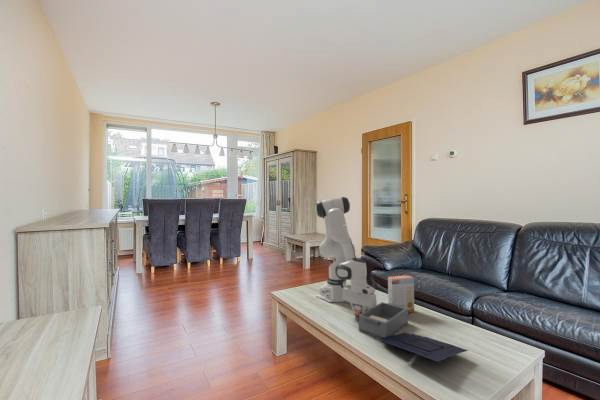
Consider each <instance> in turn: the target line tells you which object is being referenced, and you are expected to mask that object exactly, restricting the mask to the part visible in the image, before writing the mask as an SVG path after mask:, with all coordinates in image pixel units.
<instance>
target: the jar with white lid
mask: <svg viewBox="0 0 600 400" xmlns="http://www.w3.org/2000/svg"><path fill="white" fill-rule="evenodd" d="M354 306H355V311H354V320H355V321H357V322H359V315H360V314H362V310H364V309H365V308H364V306H362V305H359V304H355V303H354Z"/></svg>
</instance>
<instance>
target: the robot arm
mask: <svg viewBox="0 0 600 400" xmlns="http://www.w3.org/2000/svg"><path fill="white" fill-rule="evenodd" d="M350 208H351V202H350V200H349V198H348V197H345V196H341V197H331V198H327V199H324V200H318V201H317V202H316V203H315V206H314V212H315V214H316V215H317V217H319V218H322V219H323V220H324V227H325V237H324V240H322V242H320V243H319V247H318V249H319V253H320V254H321V255H323V256H326V257H328V258H329V257H330V258H331V257H332V258H335V259H336V260H335V261H334V262H332V263H330V265H329V267H328V277H327V278H325V280H326V283H324V284H322V285H321V286H320V287H319V292H318V293H316V294H315V297H316V298H318V299H321V300H323V301H325V302H328V303H344V302H347V303H350V306H351V308H352V310H351V311H354V312H355V304H359V305H362V306H364V310H362V313H364V312H365V311H367V310H368V308H369V309H371V308H374V307H376V305H378V304H377V301H378V300H377V295H376V288H375V287H373V286H371V285H369V284H368V282H367V281H368V280H367V277H368V276H367V275H368V274H367V273H368V272H367V263H366V260H364V259H363V258H360V257H357V255H356V246H355V245H354V244H353V241H352V239H351V237H350V234H349V230H348V226H347V221H346V217H345V214H347V213H349V212H350ZM349 280H350V284H347V281H349Z"/></svg>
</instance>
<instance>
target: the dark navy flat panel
mask: <svg viewBox="0 0 600 400" xmlns="http://www.w3.org/2000/svg"><path fill="white" fill-rule="evenodd" d="M378 340H380V341H381V342H383V343H386V344H388V345H390V346H393V347H396V348H399V349H402V350H405V351H406V352H407V351H408V352H409V353H410V352H411V353H414V354H417V355H419V356H421V357H424V358H426V359H429V360H431V361H434V362H440V361H443V360H444V359H447V358H449V357H452V356H455V355H459V354H461V353H465V352H469V350H468V349H465V348H462V347H461V346H460V347H459V346H456V345H453V344H451V343H447V342H444V341H441V340H437V339H433V338H430V337H427V336H421V335H417V334H414V333H409V332H408V333H407V332H402V333H397V334H394V335H392V336H388V337H384V338H378Z"/></svg>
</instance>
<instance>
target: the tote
mask: <svg viewBox="0 0 600 400" xmlns="http://www.w3.org/2000/svg"><path fill="white" fill-rule="evenodd" d="M371 315H373V316H377V317H380V318H384V319H387V320H388V321H386V322H383V321H379V320H376V319H373V318H369V317H370V316H371ZM408 316H409V315H408V311H407V308H403V307H402V306H398V305H394V304H390V303H389V302H388V303H386V302H380V303H378V304H377V305H376V307H374V308H369V309H367V310H366V311H365V312H364V313H362V314H360V315H359V321H358V331H360V332H362V333H364V334H368V335H370V336H373V337H377V338H378V339H379V338H384V337H388V336H393V335H396V333H398V332H399V331H400V330H401V329H403V328H404V327H406V325H407V324H408Z"/></svg>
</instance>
